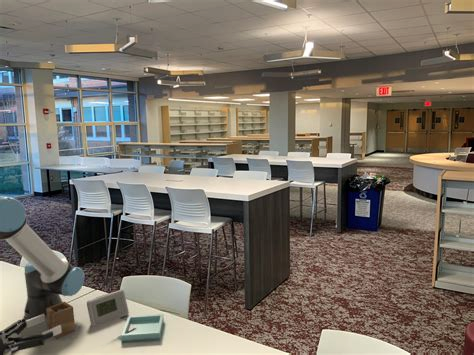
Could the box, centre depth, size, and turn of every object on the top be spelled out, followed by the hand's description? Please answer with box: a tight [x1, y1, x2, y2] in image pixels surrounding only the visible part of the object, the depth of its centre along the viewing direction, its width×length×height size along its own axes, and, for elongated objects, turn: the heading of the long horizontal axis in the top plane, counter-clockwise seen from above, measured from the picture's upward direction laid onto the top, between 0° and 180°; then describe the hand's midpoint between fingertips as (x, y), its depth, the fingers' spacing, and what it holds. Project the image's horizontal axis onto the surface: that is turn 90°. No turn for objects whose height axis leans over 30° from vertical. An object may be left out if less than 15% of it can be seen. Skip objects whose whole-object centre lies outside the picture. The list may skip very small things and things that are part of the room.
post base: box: [44, 309, 82, 342], centre depth 145 cm, size 11×11×10 cm
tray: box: [120, 313, 165, 344], centre depth 147 cm, size 14×14×3 cm
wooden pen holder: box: [46, 301, 76, 339], centre depth 145 cm, size 7×7×10 cm
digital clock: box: [86, 289, 130, 327], centre depth 156 cm, size 16×9×11 cm, turn 122°
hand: (52, 322), depth 142 cm, fingers open, 13 cm apart
